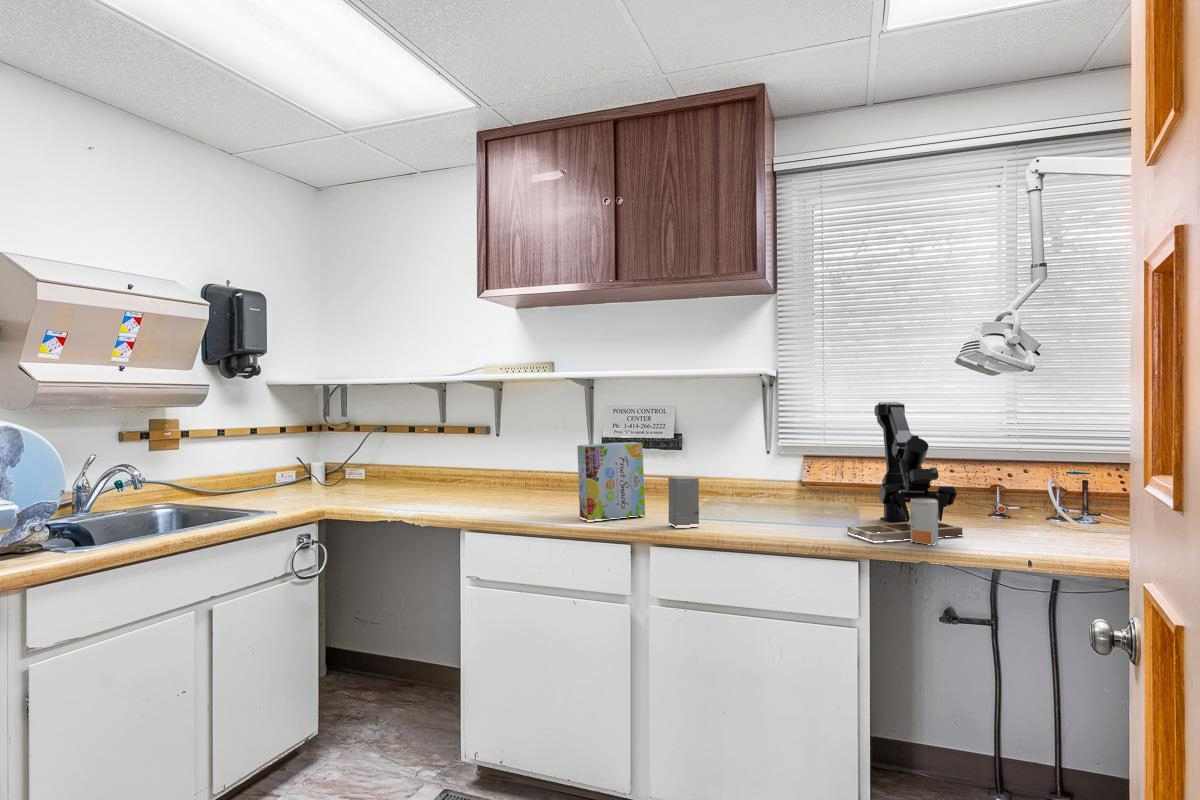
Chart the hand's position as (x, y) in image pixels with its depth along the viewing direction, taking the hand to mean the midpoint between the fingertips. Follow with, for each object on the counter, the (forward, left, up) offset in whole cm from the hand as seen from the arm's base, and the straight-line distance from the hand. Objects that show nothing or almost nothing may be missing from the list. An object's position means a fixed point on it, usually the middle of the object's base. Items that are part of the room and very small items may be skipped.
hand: (924, 520), depth 182 cm
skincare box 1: (-44, -53, -7) cm, 69 cm away
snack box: (-65, -71, -7) cm, 97 cm away
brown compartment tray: (-11, +2, -7) cm, 13 cm away
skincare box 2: (-1, +1, -7) cm, 7 cm away
